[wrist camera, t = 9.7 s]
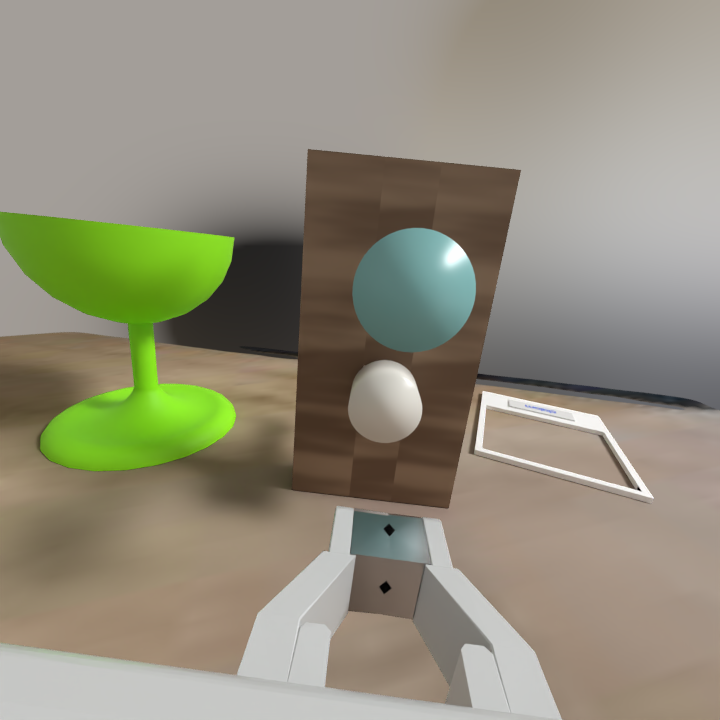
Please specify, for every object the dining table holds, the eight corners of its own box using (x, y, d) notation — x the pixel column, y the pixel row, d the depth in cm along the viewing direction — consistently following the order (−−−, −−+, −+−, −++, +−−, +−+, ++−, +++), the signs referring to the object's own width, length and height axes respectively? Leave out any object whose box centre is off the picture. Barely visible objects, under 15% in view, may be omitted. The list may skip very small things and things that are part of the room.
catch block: (448, 508, 26) (520, 170, 19) (292, 489, 26) (307, 149, 19) (441, 482, 29) (502, 181, 22) (300, 466, 29) (317, 163, 22)
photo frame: (598, 414, 45) (655, 496, 29) (596, 422, 45) (650, 507, 29) (483, 389, 50) (475, 448, 33) (481, 396, 50) (473, 457, 34)
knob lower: (416, 446, 21) (427, 379, 19) (345, 438, 21) (351, 371, 20) (402, 376, 33) (408, 332, 32) (357, 371, 33) (361, 327, 32)
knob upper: (463, 358, 13) (487, 234, 11) (347, 345, 13) (358, 221, 12) (421, 308, 25) (431, 245, 24) (362, 302, 25) (368, 239, 24)
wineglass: (216, 382, 44) (211, 236, 39) (257, 442, 32) (259, 239, 26) (52, 402, 35) (17, 215, 30) (20, 496, 23) (-49, 205, 17)
